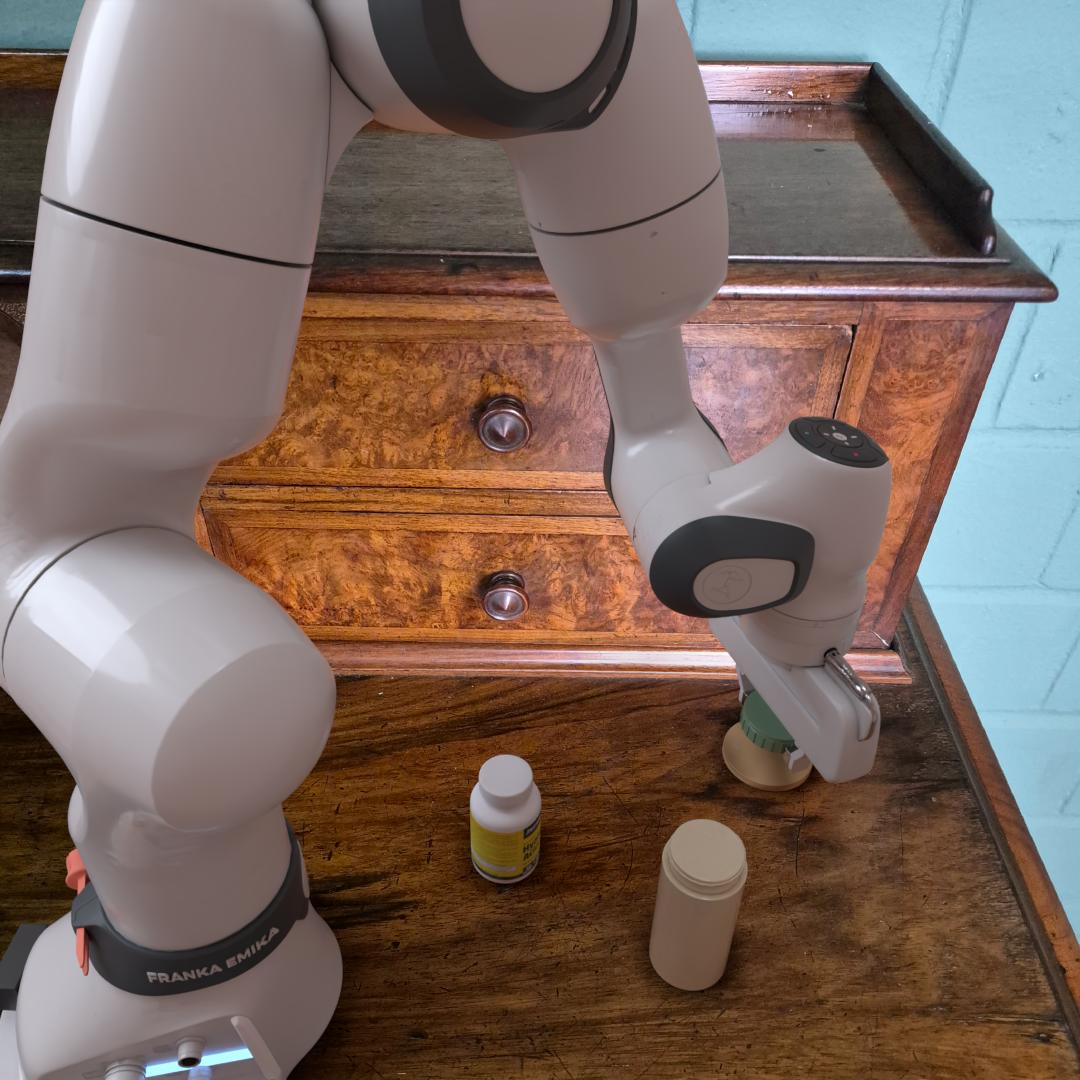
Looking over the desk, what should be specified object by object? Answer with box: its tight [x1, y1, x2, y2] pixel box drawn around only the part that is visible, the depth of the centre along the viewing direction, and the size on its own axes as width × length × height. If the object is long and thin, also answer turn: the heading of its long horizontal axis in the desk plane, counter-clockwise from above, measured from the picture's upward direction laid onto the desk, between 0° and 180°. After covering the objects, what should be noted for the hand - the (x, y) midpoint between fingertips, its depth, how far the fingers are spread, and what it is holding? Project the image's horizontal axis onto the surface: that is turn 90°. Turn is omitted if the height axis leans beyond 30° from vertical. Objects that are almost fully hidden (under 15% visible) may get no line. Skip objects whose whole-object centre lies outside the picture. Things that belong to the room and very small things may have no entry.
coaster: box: [721, 721, 814, 792], centre depth 84 cm, size 8×8×1 cm
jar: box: [648, 818, 749, 992], centre depth 65 cm, size 6×6×12 cm
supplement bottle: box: [469, 754, 542, 884], centre depth 72 cm, size 5×5×10 cm
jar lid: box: [739, 691, 796, 754], centre depth 81 cm, size 6×6×2 cm
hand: (771, 733), depth 82 cm, fingers closed on jar lid, 6 cm apart
